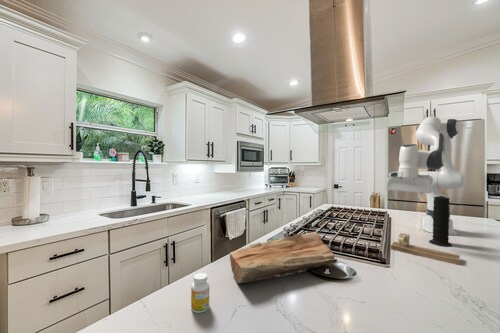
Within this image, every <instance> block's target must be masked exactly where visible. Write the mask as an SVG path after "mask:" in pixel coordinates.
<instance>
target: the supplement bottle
mask: <svg viewBox="0 0 500 333" xmlns="http://www.w3.org/2000/svg"><path fill="white" fill-rule="evenodd" d="M190 291H191V292H190V294H191V295H190V298H191V299H190V304H191V305H190V307H191V311H192V312H193V313H197V314H199V313H201V314H202V313H204V312H207V311H208V310H209V308H210V282H209V281H208V274H207V273H204V272H199V273H196V274H194V276H193V282H192V284H191V286H190Z"/></svg>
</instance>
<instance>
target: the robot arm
mask: <svg viewBox="0 0 500 333" xmlns="http://www.w3.org/2000/svg"><path fill="white" fill-rule="evenodd" d="M460 129H461V124H460V122H459V120H458V119H456V118H449V119H440V118H439V117H437V116H427V117H426V118H424V119H423V120H422V121H421V122H420V123H419V124H418V125H417V126H416V128H415V135H414V136H415V139H416V140H417V141H418V143H421V144H422V145H425V146H426V145H428V146H430V147H429V150H421V151H420V150H419V146H418V144H416V143H410V144H409V143H408V144H402V145H401V146H400V148H399V155H398V162H399V166H398V171H393V172H392V171H391V172H389V173H388V178H387V179H386V184H385V188H386V190H387V191H392V193H393V195H394V196H395V198H394V199H395V200H400V195H398V194H397V193H398V192H409V193H419V197H416V202H421V198H422V197H423V195H425V196H426V211H425V212H426V215H425V216H423V218H422V219H423V220H422V226H419V230H422V231H425V232H427V233H431V234H433V223H434V222H433V212H434V211H433V210H434V209H433V207H434V205H433V204H434V197H437V196H444V197H447V198H449V197H448V196H447V195H445V194H442V193H440V192H439V191H438V189H441V190H461V189H463V188H464V187H465V186H466V185H467V178H466V176H465V175H464V174H463V173H461V172H460V171H459V170H457V169H456V167H455V166H454V164H453V160H452V159H453V158H452V153H453V152H452V150H453V149H452V140H453V138H454V137H456V136H457V135H458V134H459V132H460ZM419 169H420V170H421V169H422V170H424V169H426V171H419ZM427 169H428V170H429V171H428V170H427ZM430 170H437V171H430ZM438 170H440V171H438ZM450 201H451V200H449V202H450ZM448 225H449V230H448V231H449V234H448V235H449V236H451V235H452V236H457V235H458V232H456V231H455V229H454V221H453V220H452V219H451V211H450V210H449V224H448Z"/></svg>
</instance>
